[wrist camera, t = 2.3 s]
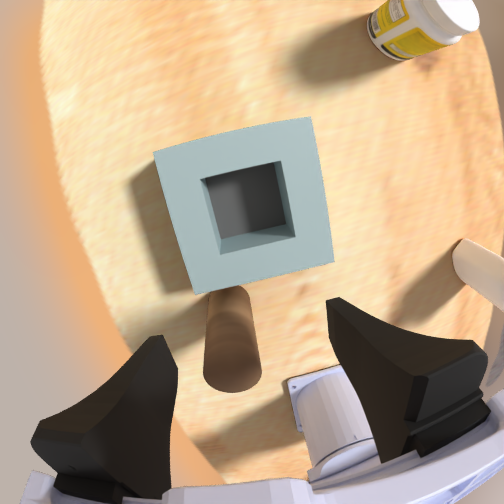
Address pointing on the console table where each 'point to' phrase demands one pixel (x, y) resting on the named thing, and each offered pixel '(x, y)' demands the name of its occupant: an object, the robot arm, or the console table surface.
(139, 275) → the console table surface
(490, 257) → the eye dropper bottle
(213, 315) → the pin
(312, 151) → the socket block
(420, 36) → the supplement bottle
